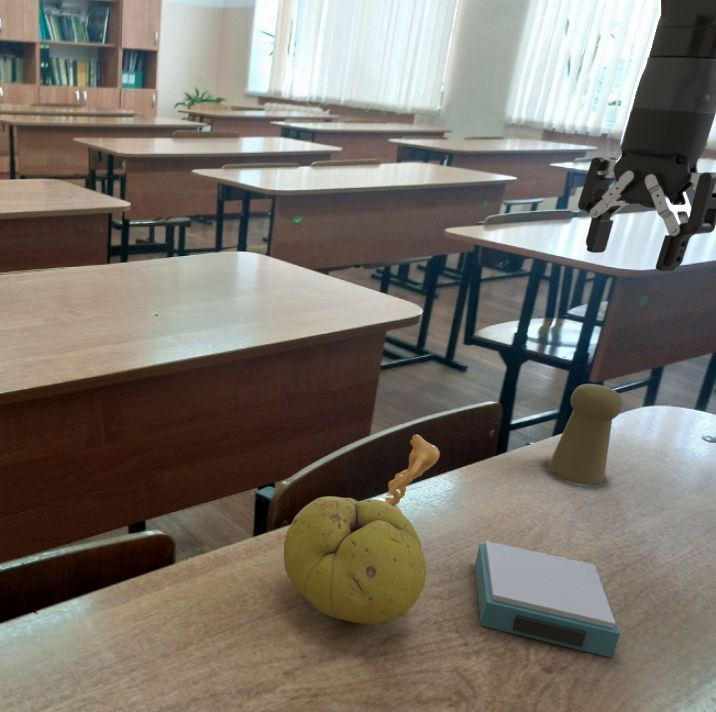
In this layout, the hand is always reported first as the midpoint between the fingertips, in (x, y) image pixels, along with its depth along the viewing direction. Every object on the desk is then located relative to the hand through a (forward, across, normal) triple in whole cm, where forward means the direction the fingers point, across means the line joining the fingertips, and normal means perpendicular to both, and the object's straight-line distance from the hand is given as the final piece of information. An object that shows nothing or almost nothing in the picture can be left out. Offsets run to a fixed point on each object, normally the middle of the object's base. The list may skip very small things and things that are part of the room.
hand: (628, 260), depth 81 cm
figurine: (+26, -7, +32) cm, 42 cm away
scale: (+26, -19, +25) cm, 41 cm away
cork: (+26, -2, 0) cm, 26 cm away
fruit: (+26, -14, +42) cm, 51 cm away
